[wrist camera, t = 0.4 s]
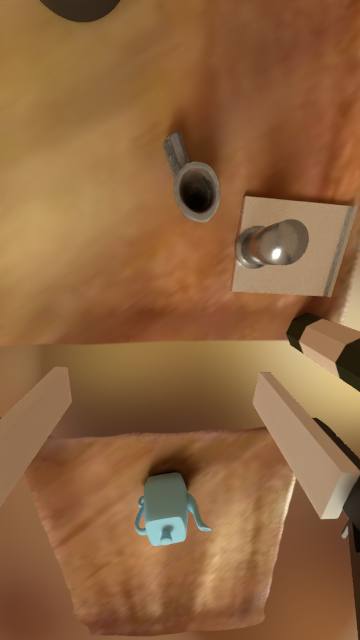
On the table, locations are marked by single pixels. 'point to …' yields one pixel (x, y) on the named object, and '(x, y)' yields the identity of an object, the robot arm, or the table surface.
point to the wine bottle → (328, 346)
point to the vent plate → (311, 259)
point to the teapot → (167, 509)
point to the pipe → (192, 181)
